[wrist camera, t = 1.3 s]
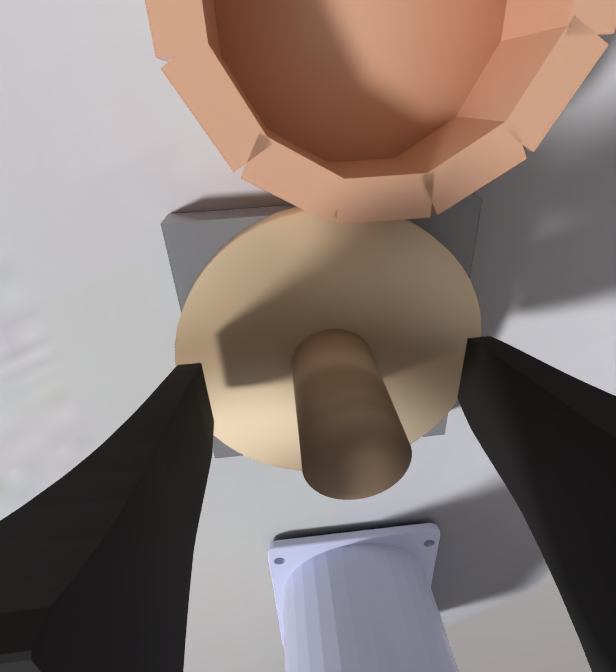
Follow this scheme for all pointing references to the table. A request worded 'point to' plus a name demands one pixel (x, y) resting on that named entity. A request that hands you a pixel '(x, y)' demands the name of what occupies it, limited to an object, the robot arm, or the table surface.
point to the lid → (330, 345)
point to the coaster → (222, 225)
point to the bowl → (377, 92)
